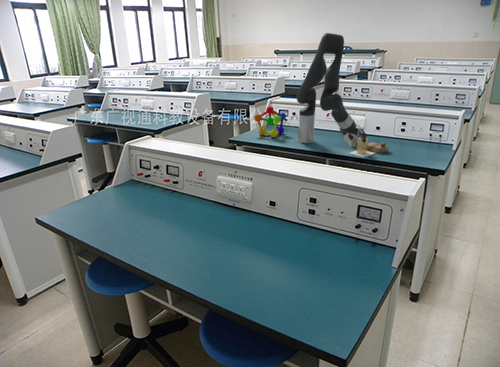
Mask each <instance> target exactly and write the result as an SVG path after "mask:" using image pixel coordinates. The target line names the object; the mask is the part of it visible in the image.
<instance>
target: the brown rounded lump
mask: <svg viewBox="0 0 500 367" xmlns="http://www.w3.org/2000/svg"><path fill="white" fill-rule="evenodd" d="M367 151H369V152H373V153H375V154H380V155H381V154H384V153H387V152H389V145H387V144H386V142H380V143H376V142H372V141H370V142H369V141H368V148H367Z"/></svg>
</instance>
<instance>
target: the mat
mask: <svg viewBox="0 0 500 367" xmlns="http://www.w3.org/2000/svg"><path fill="white" fill-rule="evenodd" d="M348 154H349V155H352V156H355V157H359V158H363V159H364V158H367V157H371V156H373V155H376V153H375V152H371V151H367V153H365V154H359V153H357V149H356V150H354V151H350V152H348Z"/></svg>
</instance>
